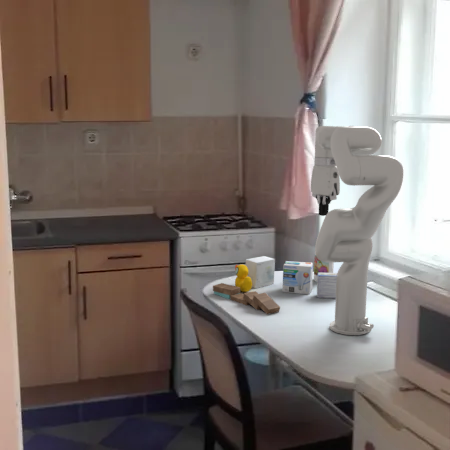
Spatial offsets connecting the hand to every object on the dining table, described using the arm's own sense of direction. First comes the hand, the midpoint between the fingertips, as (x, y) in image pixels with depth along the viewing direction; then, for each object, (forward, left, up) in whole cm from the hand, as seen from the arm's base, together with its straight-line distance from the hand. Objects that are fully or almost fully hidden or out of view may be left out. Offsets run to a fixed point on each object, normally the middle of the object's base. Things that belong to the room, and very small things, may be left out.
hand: (323, 215), depth 241 cm
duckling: (+29, +12, -32) cm, 45 cm away
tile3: (+14, +20, -32) cm, 40 cm away
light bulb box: (+17, -5, -32) cm, 37 cm away
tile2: (+7, +20, -31) cm, 38 cm away
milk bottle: (+22, -24, -32) cm, 46 cm away
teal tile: (+23, +20, -32) cm, 44 cm away
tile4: (+23, +20, -30) cm, 43 cm away
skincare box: (+32, +1, -32) cm, 46 cm away
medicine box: (+5, -9, -32) cm, 34 cm away
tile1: (+1, +21, -31) cm, 38 cm away
